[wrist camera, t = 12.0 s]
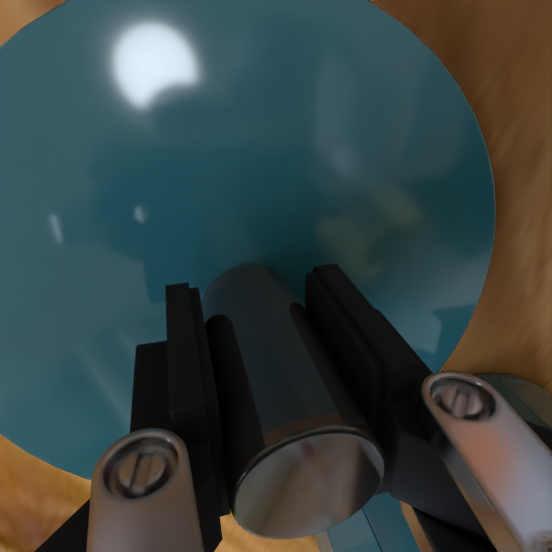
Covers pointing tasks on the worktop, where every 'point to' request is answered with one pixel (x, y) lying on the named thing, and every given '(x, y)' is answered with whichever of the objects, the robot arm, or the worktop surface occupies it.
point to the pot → (386, 509)
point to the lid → (230, 226)
